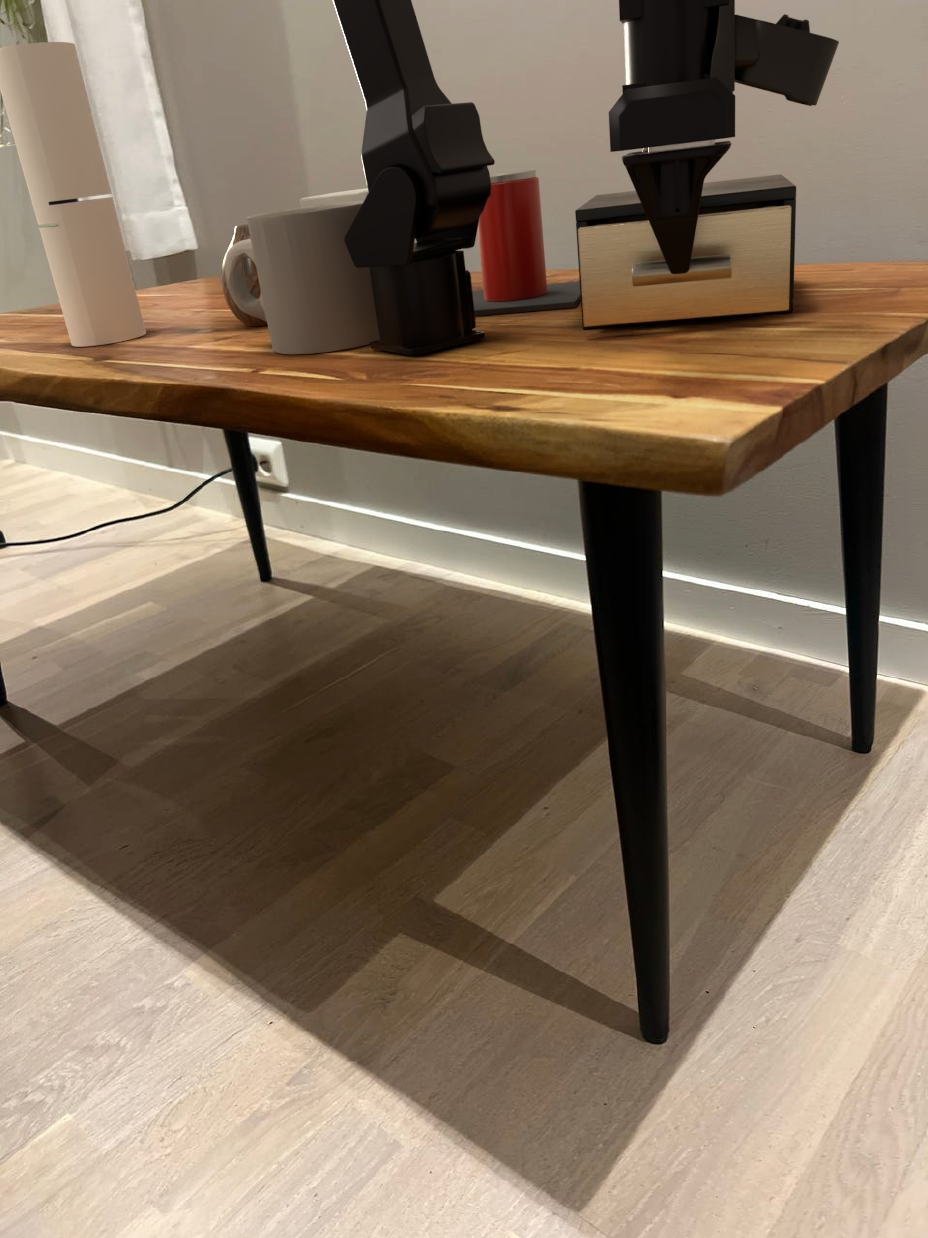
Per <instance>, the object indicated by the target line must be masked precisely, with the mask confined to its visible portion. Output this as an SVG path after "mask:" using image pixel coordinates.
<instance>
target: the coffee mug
mask: <svg viewBox="0 0 928 1238" xmlns="http://www.w3.org/2000/svg"><path fill="white" fill-rule="evenodd" d="M363 202H364V201H352V202H343V203H334V204H326V205H318V206H310V207H303V208H301V207H297V208H290V209H289V208H288V209H283V210H277V211H271V212H265V213H260V214H259V213H258V214H254V215H250V216H247V217H246V221H247V223H246V224H248V228H249V233H250V238H251V239H247V240H242V241H240V242H238V243H235V244H234V245H233V246H232V247H231V248H230V249H229V250H228V249H227V250H228V252H227V251H226V253H227V254H226V253H225V255H226V258H225V263H224V267H225V278H226V283H227V286H228V290H229V292H230V295H231V297H232V299H233V301H234V303H235V304H236V305H237V306H238V307H239V308H240V309H241V310H242V311H243V312H245V313H247V314H249V315H251V316H253V317H256V318H259V319H262V320H264V321H266V322H267V324H268V325H267V329H268V334H269V339H270V344H271V345H270V346H271V349H272V351H273V352H274V353H277V354H280V355H312V354H321V353H330V352H331V353H332V352H339V351H344V350H350V349H354V348H359V347H364V346H368V345H370V342H372V341H376V340H380V337H379V330H378V324H377V317H376V310H375V304H374V297H373V290H372V284H371V277H370V270H369V267H362V268H357V267H355V265H354V263H353V261H352V258H351V256H350V254H349V251H348V249H347V247H346V244H345V241H344V237H345V235H346V233H347V231H348V230H349V228H350V226H351V224H352V222H353V220H354V219H355V217H356V215H357V213H358V211H359V209H360V207H361V206H362V204H363ZM246 258H250V259H252V261H253V262H254V263H255V265H256V269H257V274H258V279H259V284H260V289H261V293H260V297H259V299H257V298H255V297H254V296H252V295H251V294H250V292H249V290H248V288H247V286H246V283H245V279H244V273H243V265H244V261H245V260H246Z"/></svg>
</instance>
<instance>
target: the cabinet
mask: <svg viewBox="0 0 928 1238" xmlns="http://www.w3.org/2000/svg"><path fill="white" fill-rule="evenodd" d="M770 201H772V203H773V204H774V205H775V207H778V206H787V205H790V206H791V241H790V283H789V310H786V311H773V312H761V313H749V314H736V315H724V316H712V317H700V318H687V319H675V320H663V321H650V322H638V323H626V324H613V325H601V326H589V327H584V322H583V306H582V291H581V275H580V259H579V243H578V229H579V228H580V227H589V226H595V225H596V224H597V223H598V222H599V221H600V220H602V219H611V218H621V217H630V216H639V215H646V213H645V211H644V209H643V206H642V204H641V202H640V199H639V197H638V195H637V192H636V190H629V191H620V192H612V193H601V194H597V195H594V196H593V197H592V198H590V199H589V200H588V201H586V202H584V203H583V204H582V205H581V206H579V207H578V208H577V209H576V210H575V212H574V214H575V227H576V228H575V229H576V230H575V232H576V244H577V246H576V247H577V261H578V262H577V263H578V277H579V281H580V295H581V300H580V308H581V310H580V311H581V320H582V321H581V323H582V329H583V330H590V329H591V330H592V329H601V328H602V329H603V328H604V329H605V328H613V327H628V326H639V325H654V324H665V323H676V322H679V323H680V322H689V321H702V320H703V321H704V320H714V319H725V318H726V319H727V318H738V317H739V318H740V317H752V316H753V317H754V316H764V315H777V314H789V313H793V312H794V300H795V299H794V298H795V294H794V293H795V261H796V260H795V259H796V257H795V256H796V224H797V223H796V219H797V218H796V217H797V185H795V184H794V183H793V182H792V181H790V179H788V178H787V177H786V176H784V175H783V174H770V175H763V176H756V177H755V176H754V177H753V176H752V177H745V178H736V179H728V180H720V181H719V180H718V181H708V182H704V183H703V189H702V195H701V201H700V207H699V209H705V208H714V207H723V206H733V205H742V204H751V203H761V202H770Z"/></svg>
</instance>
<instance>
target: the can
mask: <svg viewBox="0 0 928 1238" xmlns="http://www.w3.org/2000/svg"><path fill="white" fill-rule="evenodd" d="M536 171H537V170H536V169H524V170H523V169H522V170H515V171H505V172H500V173H492V174H491V173H490V180H491V195H490V197H489V198H488V199H487V202H486V205H485V208H484V211H483V212H482V214H481V215H480V218H479V223H478V229H477V240H478V241H477V242H478V250H479V251H478V252H479V260H480V269H481V280H482V290H484V299H485V300H486V301H489V302H508V301H518V300H525V299H531V298H535V297H539V296H542V295H545V294H546V293H547V284H548V283H547V281H548V280H547V270H546V255H545V243H544V229H543V218H542V217H543V216H542V203H541V191H540V179H539V177H538V176H537V172H536Z"/></svg>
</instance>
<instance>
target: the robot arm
mask: <svg viewBox="0 0 928 1238" xmlns="http://www.w3.org/2000/svg"><path fill="white" fill-rule="evenodd" d="M332 3H333V5H334V8H335V11H336V12H335V13H336V14H337V18H338V21H339V25H340V27H341V30H342V33H343V36H344V41H345V43H346V46H347V50H348V52H349V55H350V58H351V61H352V65H353V68H354V71H355V74H356V77H357V81H358V84H359V86H360V90H361V92H362V96H363V99H364V103H365V108H366V115H365V121H364V129H363V135H362V137H363V138H362V144H361V145H362V146H361V154H360V156H361V162H362V167H363V172H364V177H365V183H366V188H368V195H367V196H366V198H365V200H364V202H363V204H362V206H361V207H360V209H359V211H358V213H357V215H356V217H355V219H354V220H353V222H352V224H351V226H350V228H349V230H348V231H347V233H346V235H345V237H344V241H345V244H346V247H347V249H348V251H349V254H350V256H351V258H352V261H353V263H354V265H355V267H357V268H362V267H369V270H370V277H371V284H372V290H373V297H374V304H375V310H376V317H377V324H378V330H379V337H380V340H376V341H372V342H370V344H369V348H370V349H371V350H377V351H384V352H389V353H396V354H403V355H409V356H417V355H422V354H427V353H431V352H436V351H439V350H443V349H447V348H451V347H455V346H459V345H463V344H468V343H471V342H475V341H479V340H483V339H485V338H486V337H487V336H486V331H485V330H477V329H476V326H477V321H476V316H475V311H474V301H473V292H472V291H473V285H472V284H473V283H472V275H471V272H470V271H469V270H468V269H466V262H465V261H466V260H465V252H464V250H465V249H472V248H474V247H475V244H476V239H477V235H478V232H477V229H478V223H479V218H480V215H481V214H482V212H483V211H484V208H485V205H486V202H487V199H488V198H489V197H490V195H491V180H490V175H491V173H490V170H489V166H494V165H495V164H496V163H495V162H496V161H495V159H494V157H493V155H491V153H490V151H488V148H487V146H486V143H485V140H484V136H483V131H482V124H481V118H480V114H479V111H478V109H477V106H476V105H475V103H474V102H472V101H470V102H469V101H467V102H455V103H452V102H451V100H450V99H449V98H448V97H447V95H446V94H445V93H444V92H443V90H442V89H441V88H440V86H439V85H438V82H437V81H436V78H435V75H434V71H433V69H432V65H431V62H430V58H429V55H428V51H427V49H426V44H425V41H424V38H423V35H422V32H421V28H420V25H419V22H418V19H417V14H416V12H415V8H414V5H413V2H412V0H332ZM618 13H619V15H618V16H619V22H620V23H621V24H622V30H623V31H622V34H623V56H624V57H623V58H624V79H625V81H624V83H625V84H623V85H622V94H621V96H620V97H619V98H618V99H617V101H616V102H615V103H614V105H613V106H612V107H611V108H610V110H609V111H608V129H609V130H608V131H609V147H610V148H609V151H610V153H616V152H623V151H632V150H640V151H633V152H629V153H627V154H624V155H622V156H621V161H622V164H623V166H624V168H625V169H626V171H627V174H628V177H629V179H630V182H631V183H632V185H633V188H634V191H636V192H637V195H638V197H639V199H640V202H641V204H642V206H643V209H644V211H645V213H646V216H647V218H648V220H649V223H650V225H651V227H652V230H653V232H654V235H655V237H656V239H657V242H658V244H659V247H660V249H661V251H662V254H663V256H664V258H665V261H666V263H667V266H668V268H669V270H670V272H671V273H672V274H684V273H687V272H688V271H689V269H690V263H691V256H692V250H693V244H694V238H695V232H696V226H697V220H698V214H699V207H700V201H701V195H702V189H703V183H705V179H706V177H707V175H708V174H710V172H711V171H712V170H713V168H714V167H715V166H716V165H717V164H718V163H719V162H720V160H721V159H722V158H723V157H724V156H725V155H726V154H727V152H728V151H729V150H730V148H731V146H732V144H733V143H732V142H731V140H724V141H716V140H722V139H730V138H736V94H734V92H735V91H736V88H735V87H736V86H735V85H736V83H737V84H740V85H744V86H747V87H750V88H755V89H759V90H762V91H766V92H770V93H773V94H777V95H781V96H784V97H785V99H786V101H789V102H791V103H796V104H800V105H804V106H808V107H812V106H814V107H815V106H817V105H818V102H819V99H820V97H821V94H822V91H823V88H824V86H825V82H826V80H827V77H828V74H829V72H830V70H831V69H830V68H831V66H832V63H833V60H834V58H835V56H836V55H835V54H836V53H837V50H838V47H839V44H840V41H839V40H837V39H834V38H832V37H828V36H824V35H821V34H816V33H813V32H811V30H810V21H809V19H807V18H806V19H803V20H802V19H798V18H793V17H790V16H789V15H788V14H785V13H784V14H783V15H782V16H781V17H780V18H779V20H778V21H776V23H775V22H770V21H766V20H762V19H756V18H752V17H749V16H745V15H740V14H736V0H618ZM641 149H642V150H641ZM415 241H416V242H415ZM462 249H463V250H462Z"/></svg>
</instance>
